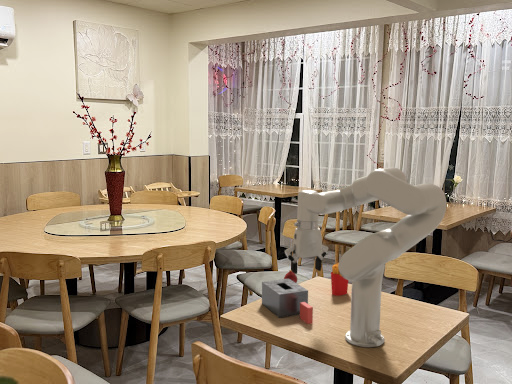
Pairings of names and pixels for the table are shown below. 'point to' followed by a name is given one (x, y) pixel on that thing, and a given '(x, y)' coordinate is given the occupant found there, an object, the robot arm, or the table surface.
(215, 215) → the table surface
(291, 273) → the onion
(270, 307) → the grey slotted box
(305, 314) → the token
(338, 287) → the french fries
